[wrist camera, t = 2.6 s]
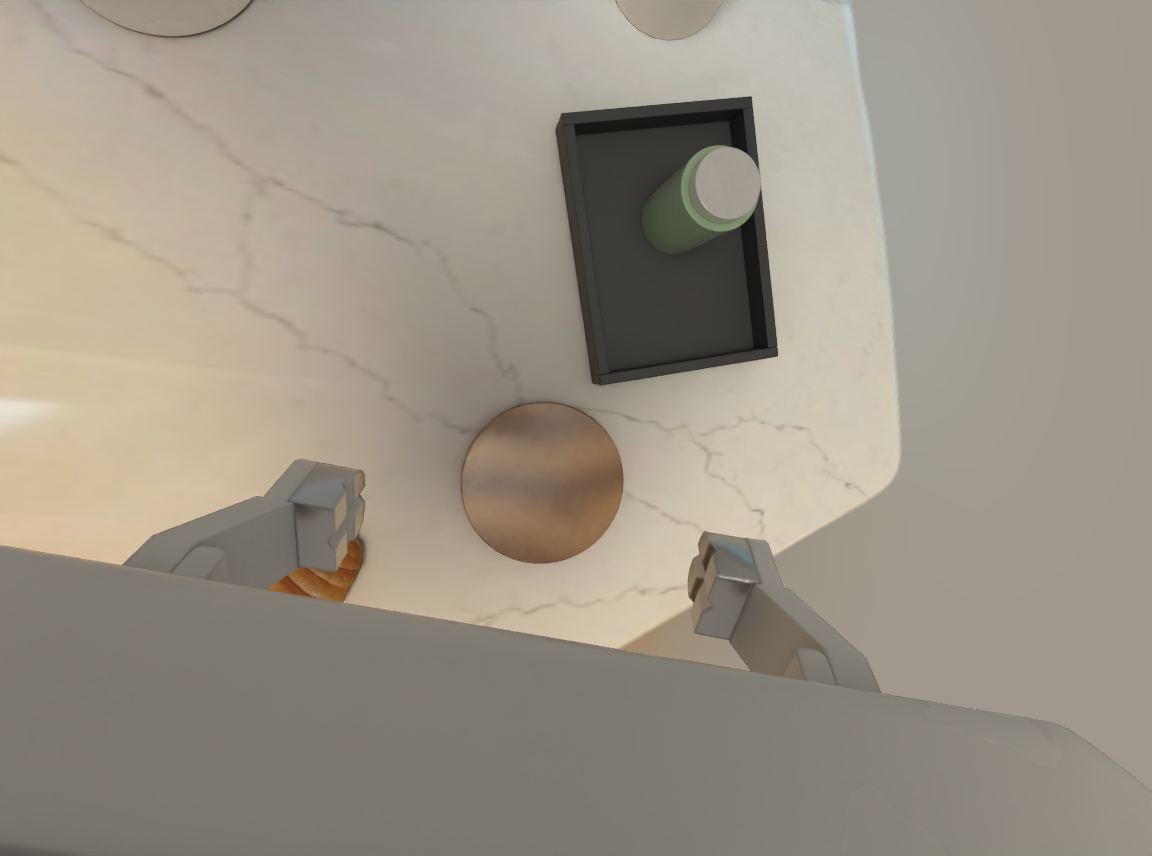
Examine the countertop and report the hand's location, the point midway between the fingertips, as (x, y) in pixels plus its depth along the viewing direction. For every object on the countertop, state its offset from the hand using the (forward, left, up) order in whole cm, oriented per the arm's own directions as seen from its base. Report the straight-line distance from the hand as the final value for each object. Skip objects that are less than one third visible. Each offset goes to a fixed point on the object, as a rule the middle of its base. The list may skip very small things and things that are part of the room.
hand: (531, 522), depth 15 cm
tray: (-10, +16, -34) cm, 39 cm away
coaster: (+7, +4, -34) cm, 35 cm away
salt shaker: (-12, +17, -33) cm, 39 cm away
